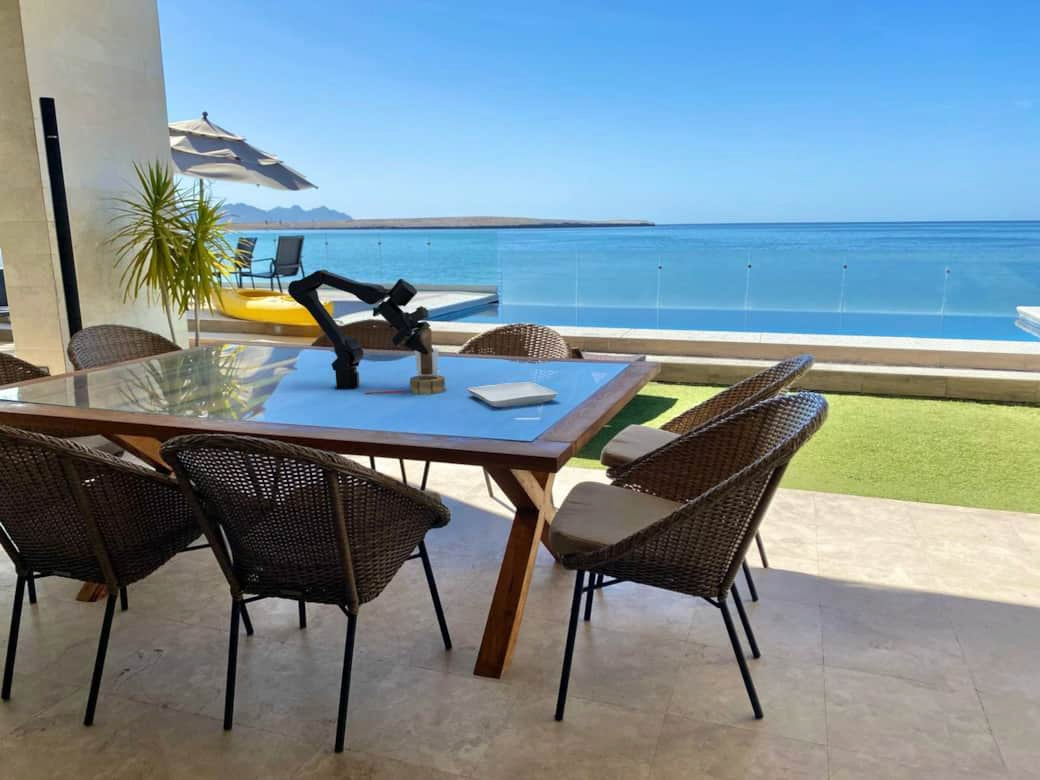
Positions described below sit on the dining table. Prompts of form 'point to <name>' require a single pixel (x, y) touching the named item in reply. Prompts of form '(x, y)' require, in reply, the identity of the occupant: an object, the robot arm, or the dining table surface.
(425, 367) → the tall brown cylinder
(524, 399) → the salad plate
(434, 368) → the white cup
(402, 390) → the brick-red rectangular plank
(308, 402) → the dining table surface
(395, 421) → the dining table surface
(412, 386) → the tan segmented ring
